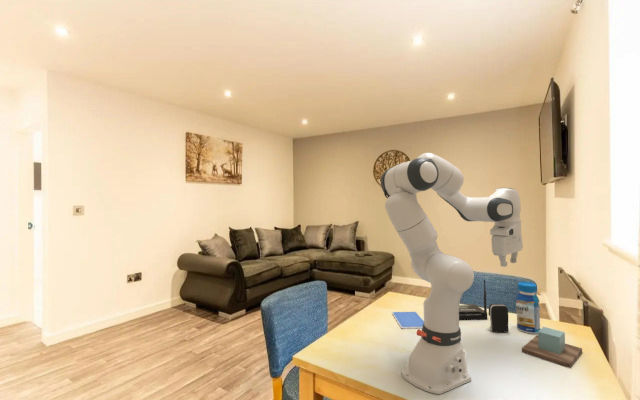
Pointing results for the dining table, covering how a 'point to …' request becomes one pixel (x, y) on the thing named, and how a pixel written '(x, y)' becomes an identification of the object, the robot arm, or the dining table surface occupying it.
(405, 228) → the robot arm
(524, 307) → the beverage bottle
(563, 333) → the sage green cube
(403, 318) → the tablet computer
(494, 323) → the battery charger
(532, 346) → the stub plate
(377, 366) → the dining table surface
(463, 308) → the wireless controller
